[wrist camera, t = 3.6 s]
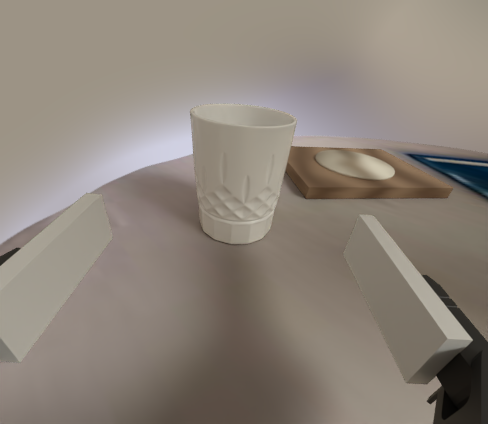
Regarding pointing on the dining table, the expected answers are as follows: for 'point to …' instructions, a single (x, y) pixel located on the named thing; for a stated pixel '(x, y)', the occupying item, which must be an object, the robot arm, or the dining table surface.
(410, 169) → the walnut board
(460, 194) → the dining table surface
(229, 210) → the white cup
